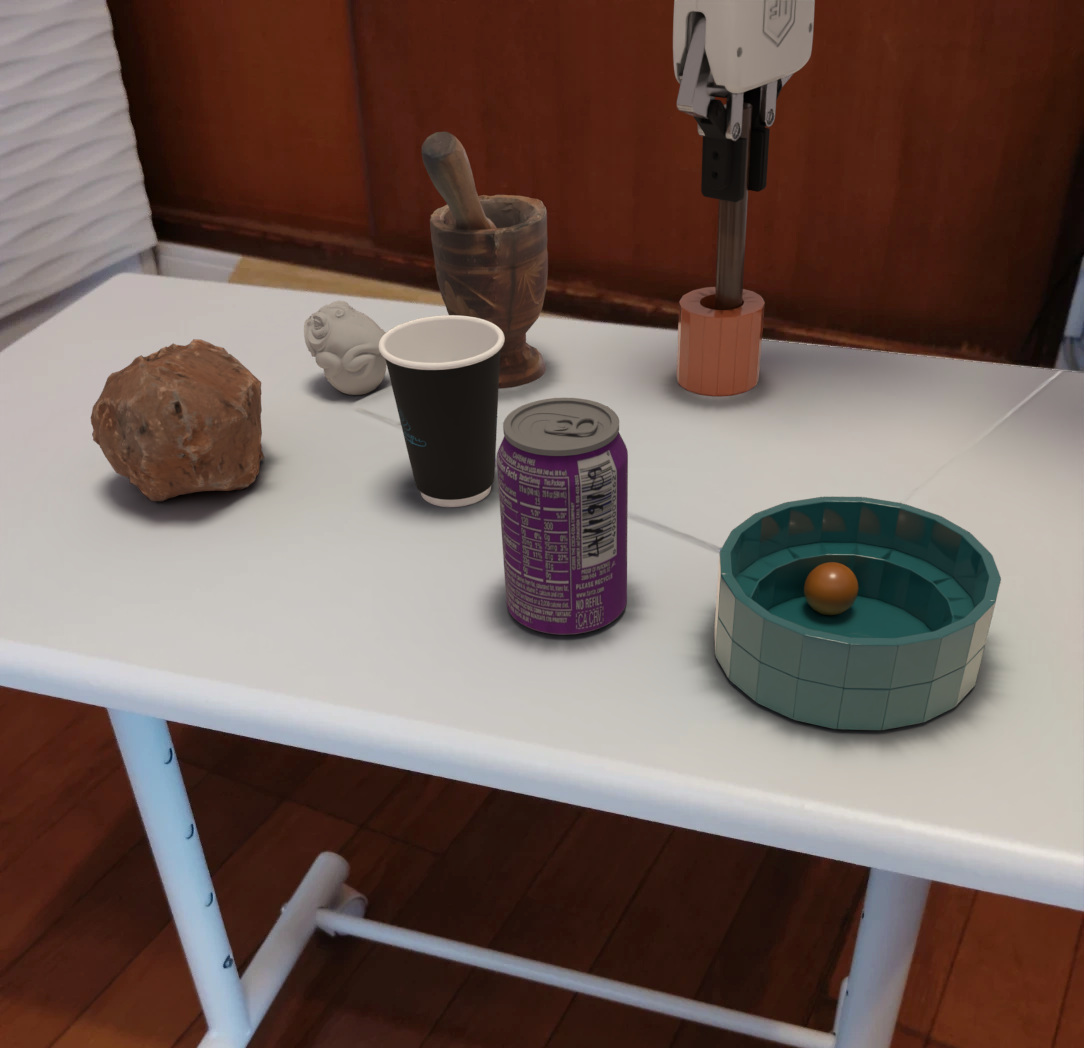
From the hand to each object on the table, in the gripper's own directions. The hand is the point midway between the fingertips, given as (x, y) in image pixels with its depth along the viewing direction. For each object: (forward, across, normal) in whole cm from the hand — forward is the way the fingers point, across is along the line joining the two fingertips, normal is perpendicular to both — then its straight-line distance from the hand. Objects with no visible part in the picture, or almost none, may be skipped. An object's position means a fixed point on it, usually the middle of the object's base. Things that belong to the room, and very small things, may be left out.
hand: (733, 191), depth 83 cm
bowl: (+15, -24, -24) cm, 38 cm away
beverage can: (+15, -30, -9) cm, 35 cm away
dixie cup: (+15, -24, +6) cm, 29 cm away
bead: (+13, -22, -22) cm, 33 cm away
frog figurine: (+15, -17, +24) cm, 33 cm away
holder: (+15, 0, +1) cm, 15 cm away
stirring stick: (+11, 0, 0) cm, 11 cm away
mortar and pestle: (+15, -10, +15) cm, 23 cm away
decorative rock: (+14, -34, +22) cm, 43 cm away
